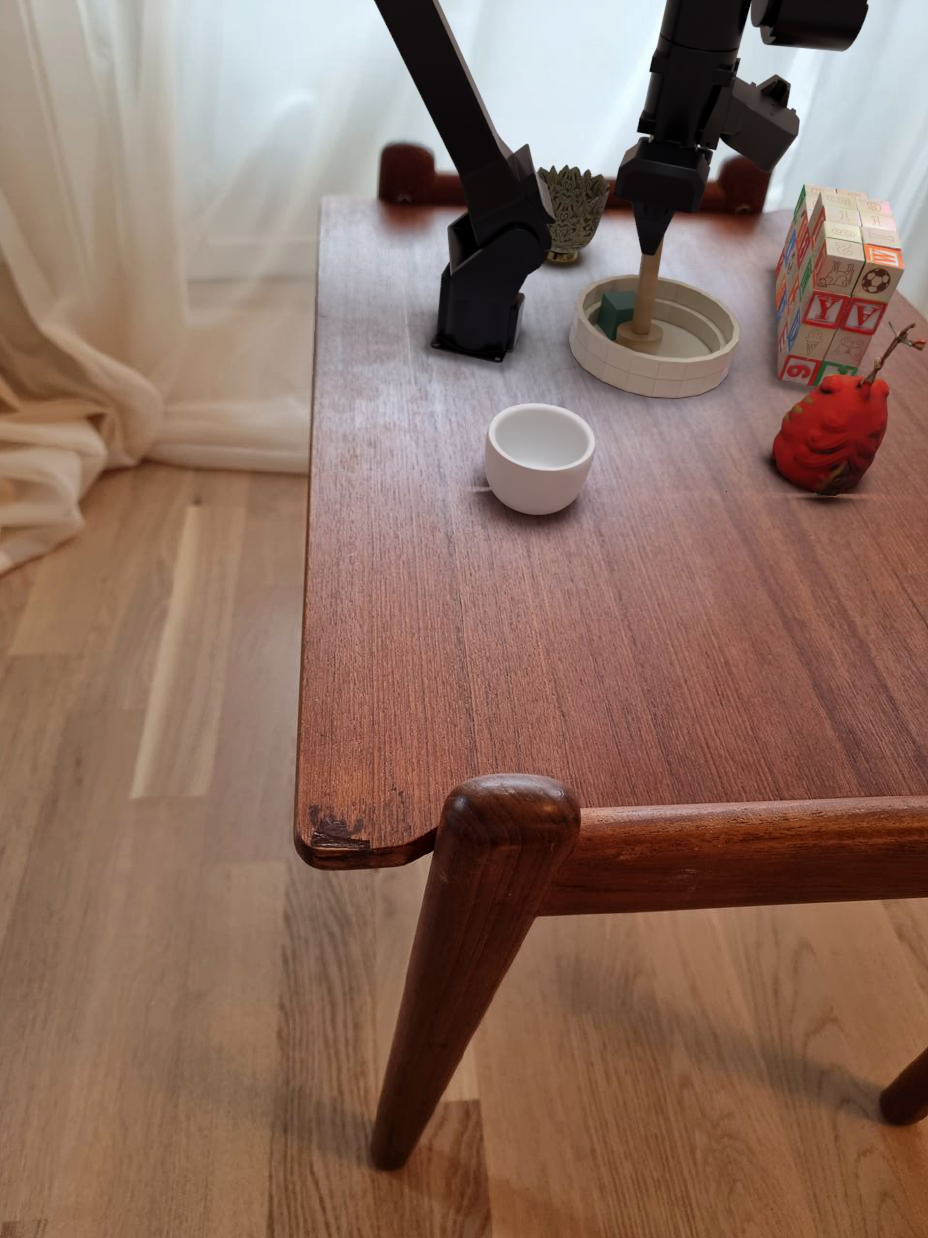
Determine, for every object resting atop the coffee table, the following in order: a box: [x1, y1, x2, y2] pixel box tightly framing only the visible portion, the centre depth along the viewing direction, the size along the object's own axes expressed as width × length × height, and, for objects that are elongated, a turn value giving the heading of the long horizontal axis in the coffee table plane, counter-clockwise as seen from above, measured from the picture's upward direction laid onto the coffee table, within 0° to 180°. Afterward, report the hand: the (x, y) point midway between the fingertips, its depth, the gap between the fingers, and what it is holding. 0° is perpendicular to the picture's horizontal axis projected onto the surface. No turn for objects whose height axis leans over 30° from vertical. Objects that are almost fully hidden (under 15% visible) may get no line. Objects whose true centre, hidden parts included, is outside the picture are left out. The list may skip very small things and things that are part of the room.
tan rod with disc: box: [616, 236, 665, 351], centre depth 82 cm, size 4×4×12 cm
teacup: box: [484, 402, 596, 516], centre depth 71 cm, size 10×8×5 cm
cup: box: [536, 164, 611, 266], centre depth 95 cm, size 8×7×8 cm
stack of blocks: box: [775, 182, 906, 388], centre depth 89 cm, size 21×6×12 cm, turn 168°
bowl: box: [568, 273, 741, 399], centre depth 86 cm, size 14×14×4 cm
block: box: [597, 290, 636, 340], centre depth 88 cm, size 3×3×3 cm
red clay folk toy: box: [771, 320, 927, 497], centre depth 72 cm, size 8×7×15 cm
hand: (649, 248), depth 81 cm, fingers closed on tan rod with disc, 2 cm apart
